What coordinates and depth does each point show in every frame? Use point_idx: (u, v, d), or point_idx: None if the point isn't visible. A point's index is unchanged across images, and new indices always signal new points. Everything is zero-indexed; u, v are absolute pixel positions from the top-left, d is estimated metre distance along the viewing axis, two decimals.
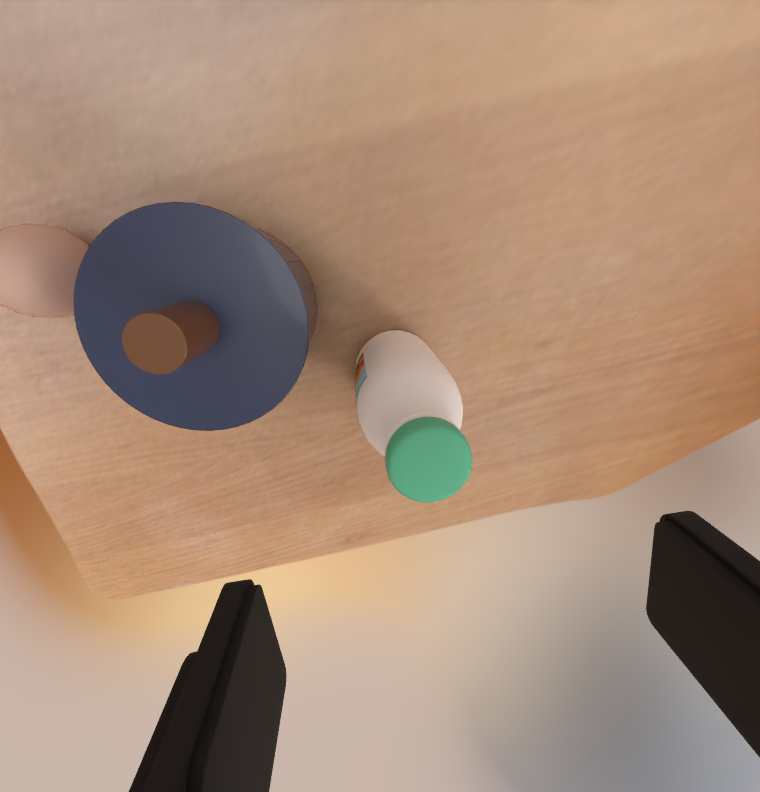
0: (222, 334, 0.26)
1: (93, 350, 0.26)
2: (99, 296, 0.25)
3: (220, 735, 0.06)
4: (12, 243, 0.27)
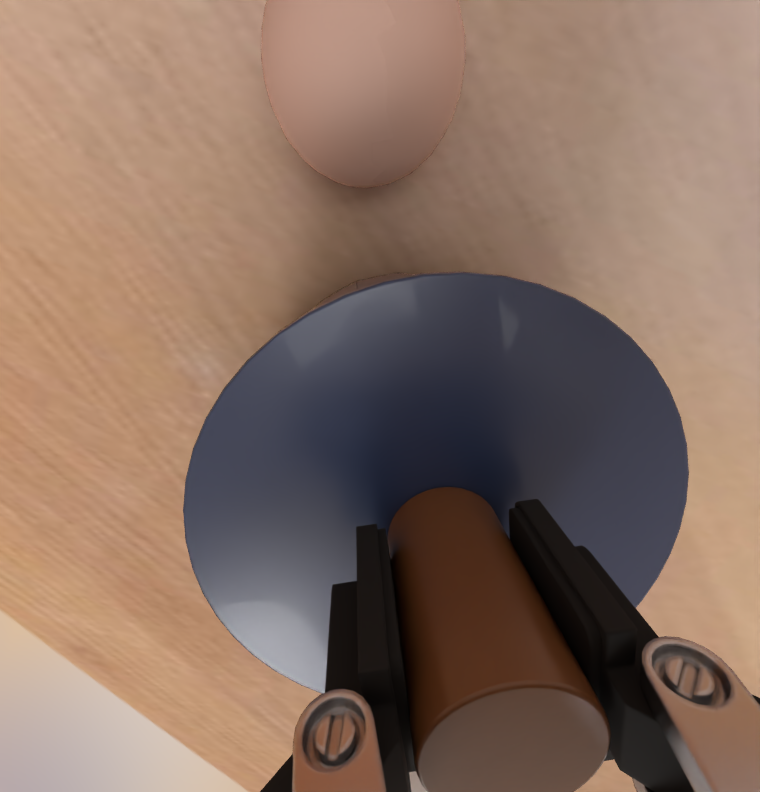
0: None
1: (301, 346, 0.10)
2: (447, 336, 0.10)
3: (398, 634, 0.07)
4: (448, 27, 0.11)
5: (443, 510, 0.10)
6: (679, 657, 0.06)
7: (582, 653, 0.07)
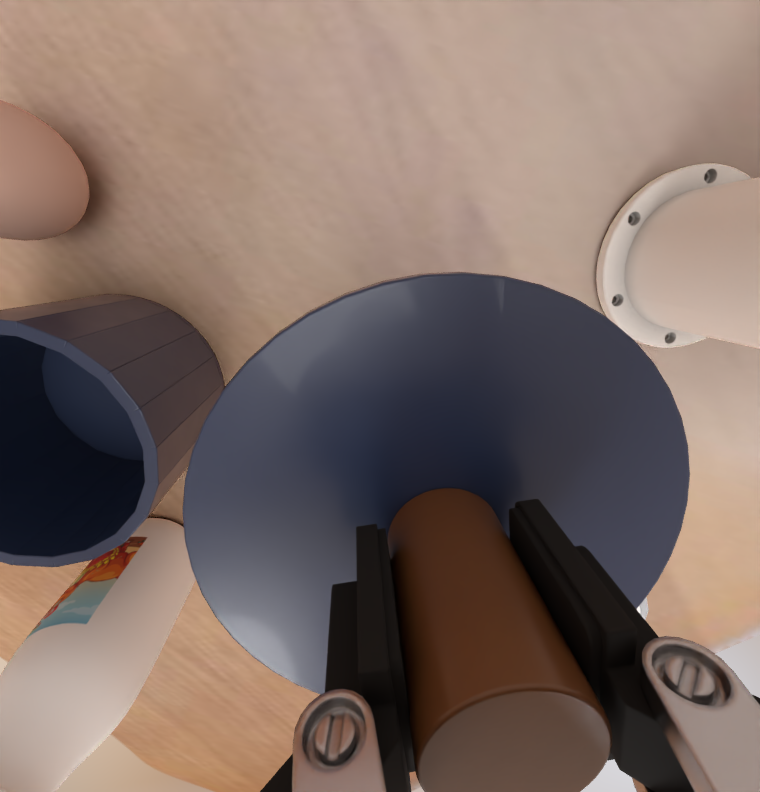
0: None
1: (301, 347, 0.10)
2: (447, 337, 0.10)
3: (398, 634, 0.07)
4: None
5: (443, 511, 0.10)
6: (679, 657, 0.06)
7: (582, 653, 0.07)
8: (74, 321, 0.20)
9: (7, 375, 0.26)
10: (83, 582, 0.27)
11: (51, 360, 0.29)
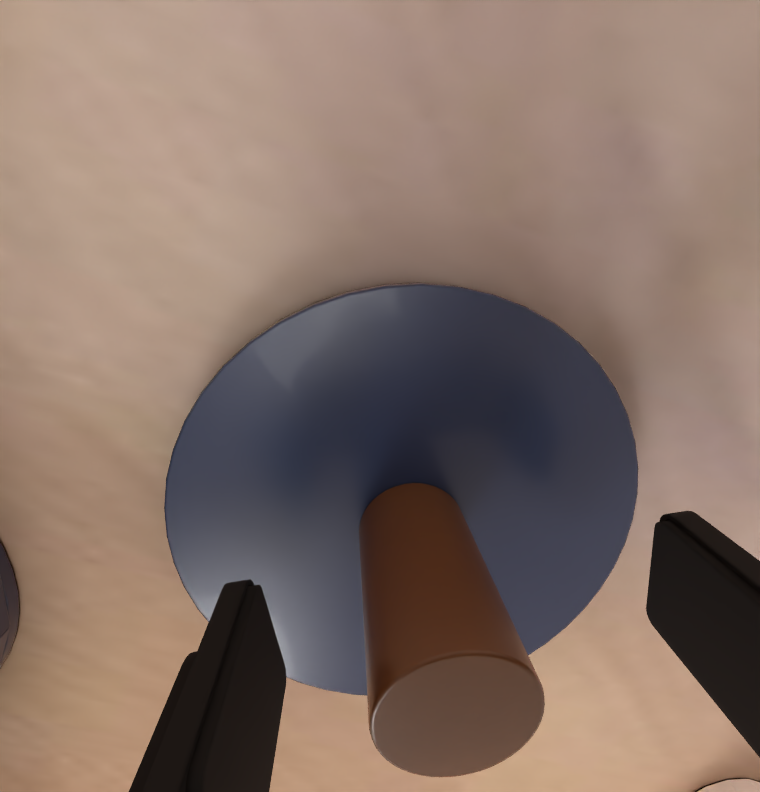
0: None
1: (273, 352, 0.10)
2: (409, 342, 0.11)
3: (220, 735, 0.06)
4: None
5: (408, 504, 0.11)
6: None
7: None
8: None
9: None
10: None
11: None
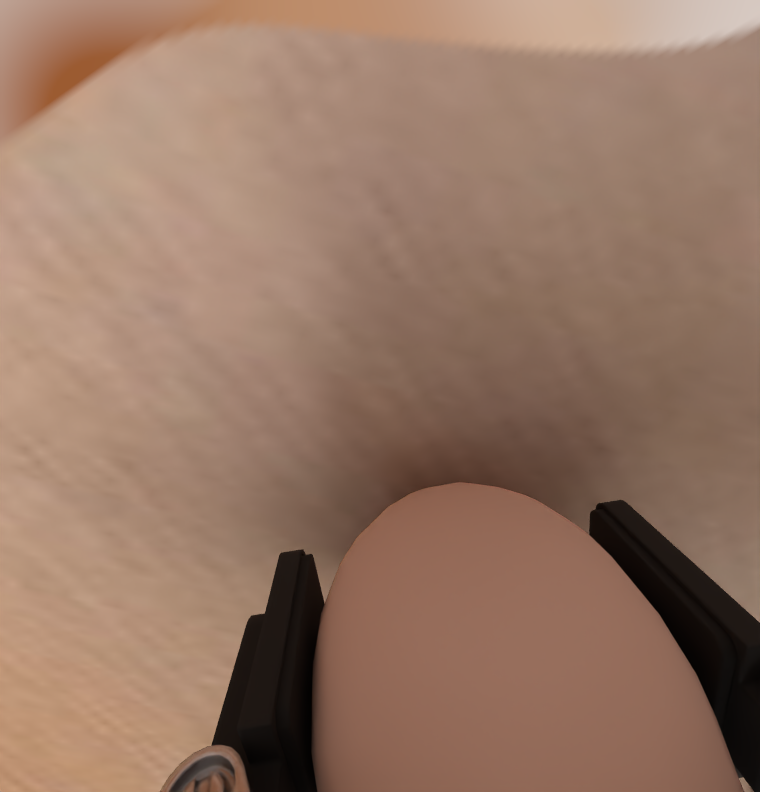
0: None
1: None
2: None
3: (297, 678, 0.07)
4: None
5: None
6: None
7: (708, 666, 0.07)
8: None
9: None
10: None
11: None
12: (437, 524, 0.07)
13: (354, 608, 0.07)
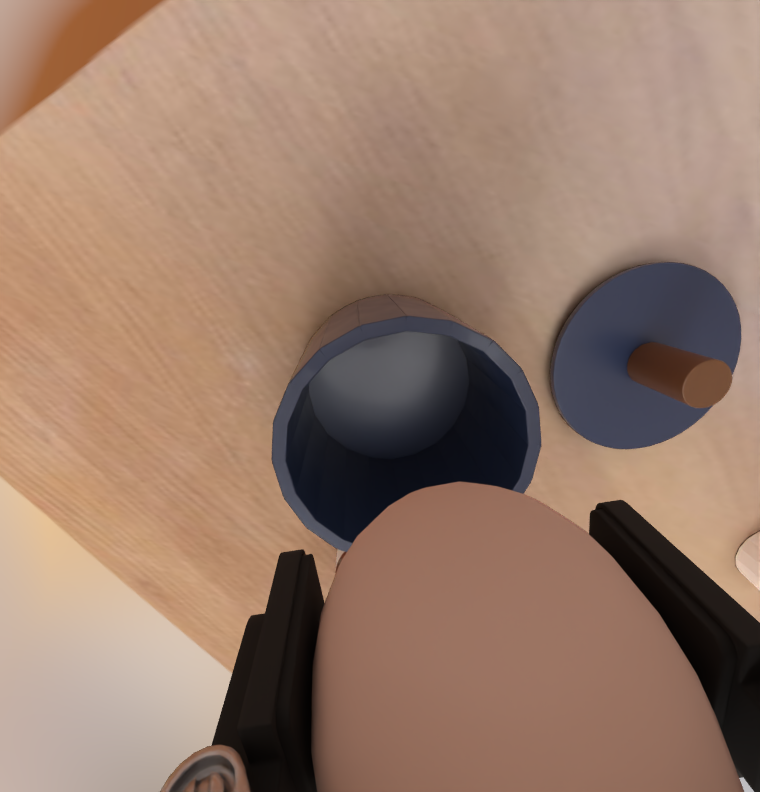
0: (643, 385, 0.31)
1: (613, 287, 0.29)
2: (661, 284, 0.29)
3: (297, 678, 0.07)
4: None
5: (658, 345, 0.29)
6: None
7: (708, 666, 0.07)
8: (457, 320, 0.21)
9: None
10: None
11: None
12: (437, 523, 0.07)
13: (354, 607, 0.07)
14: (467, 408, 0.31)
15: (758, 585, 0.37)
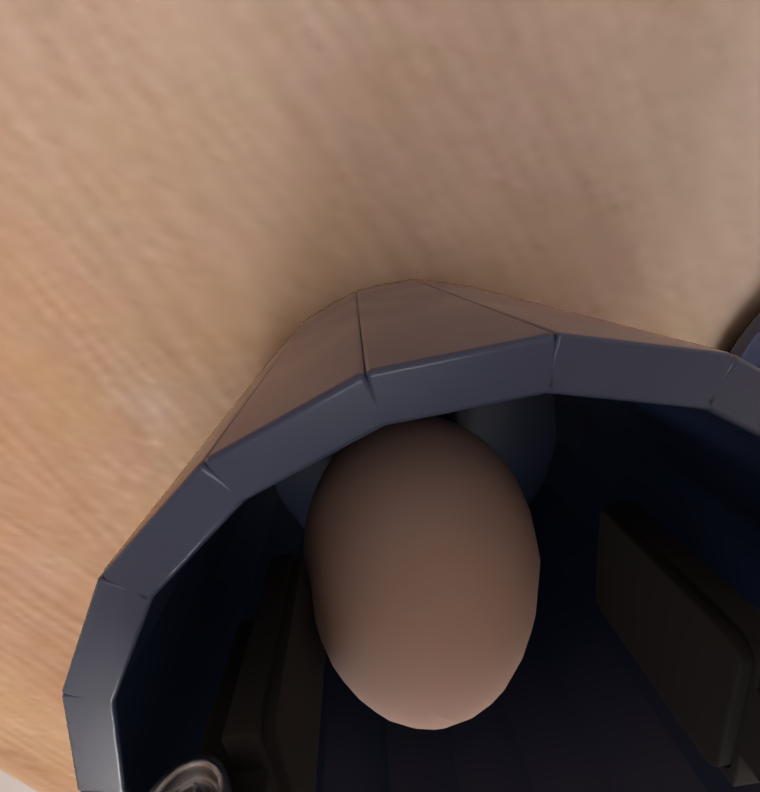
0: None
1: None
2: None
3: (285, 686, 0.07)
4: (522, 655, 0.09)
5: None
6: None
7: (724, 670, 0.07)
8: None
9: None
10: None
11: None
12: (385, 430, 0.12)
13: (330, 474, 0.12)
14: (551, 487, 0.17)
15: None
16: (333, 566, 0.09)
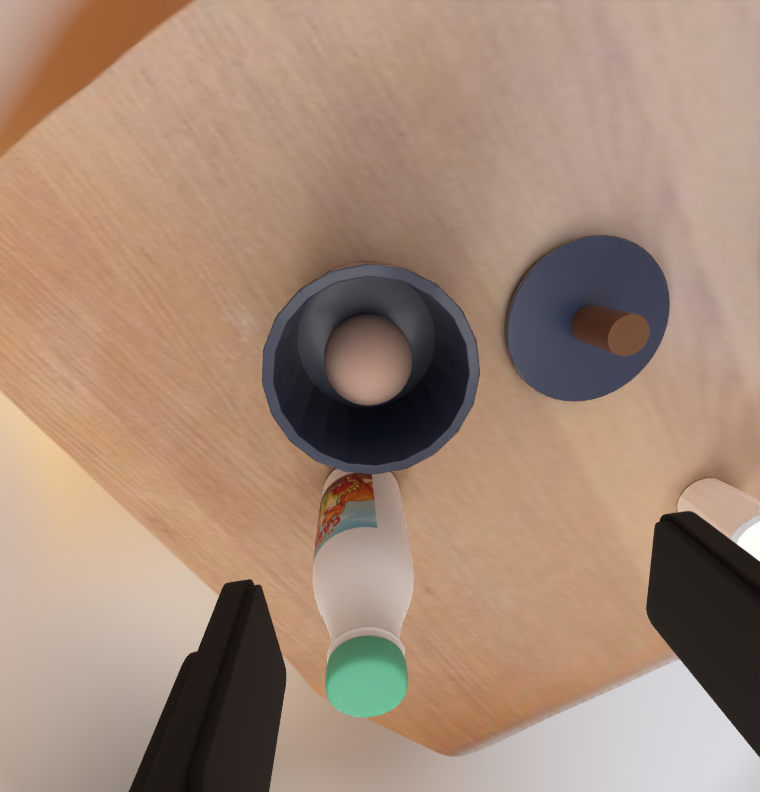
0: (586, 343, 0.36)
1: (556, 257, 0.34)
2: (598, 254, 0.34)
3: (220, 735, 0.06)
4: (401, 373, 0.28)
5: (595, 307, 0.34)
6: None
7: None
8: None
9: (294, 327, 0.32)
10: (347, 502, 0.33)
11: (307, 318, 0.35)
12: (353, 316, 0.31)
13: (333, 331, 0.30)
14: (433, 362, 0.36)
15: None
16: (339, 348, 0.28)
